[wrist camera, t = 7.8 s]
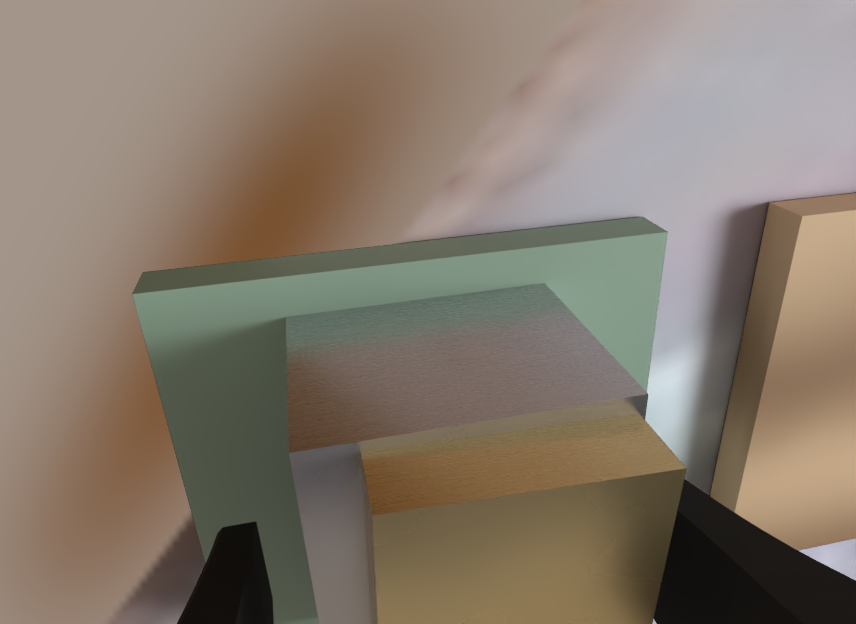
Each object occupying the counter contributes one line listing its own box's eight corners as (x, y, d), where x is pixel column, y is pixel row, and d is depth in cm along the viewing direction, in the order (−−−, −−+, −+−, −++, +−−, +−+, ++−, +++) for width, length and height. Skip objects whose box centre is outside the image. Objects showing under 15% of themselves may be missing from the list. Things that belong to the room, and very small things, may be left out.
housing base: (545, 282, 13) (647, 394, 9) (533, 573, 16) (603, 734, 13) (285, 316, 12) (289, 453, 8) (334, 615, 15) (350, 798, 12)
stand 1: (603, 559, 18) (620, 588, 17) (236, 634, 16) (234, 670, 15) (642, 216, 14) (667, 231, 13) (142, 272, 12) (132, 294, 11)
